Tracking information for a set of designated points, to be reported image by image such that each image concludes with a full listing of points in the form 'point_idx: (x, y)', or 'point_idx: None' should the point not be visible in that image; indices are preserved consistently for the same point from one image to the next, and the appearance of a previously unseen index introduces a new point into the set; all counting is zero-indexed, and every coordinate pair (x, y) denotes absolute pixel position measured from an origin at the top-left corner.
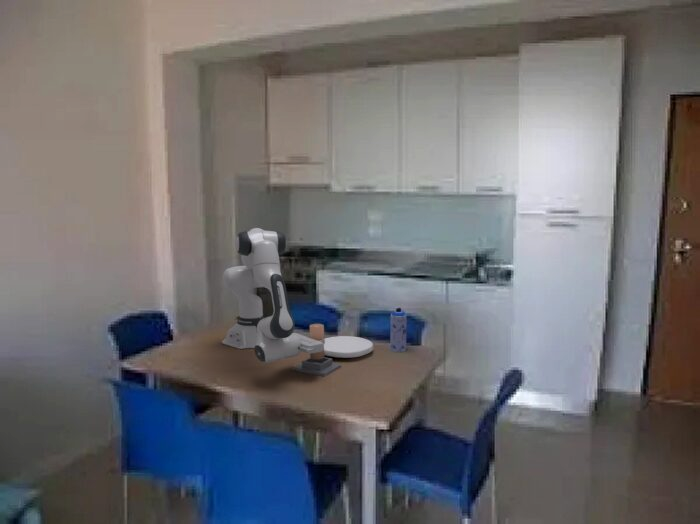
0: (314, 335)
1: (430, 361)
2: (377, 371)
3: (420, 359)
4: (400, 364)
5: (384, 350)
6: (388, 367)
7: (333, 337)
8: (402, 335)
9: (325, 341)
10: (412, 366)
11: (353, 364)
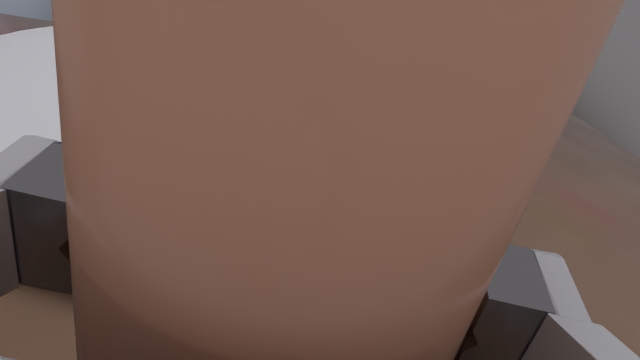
0: (447, 244)
1: (591, 134)
2: (636, 315)
3: None
4: (570, 189)
5: None
6: (588, 238)
7: (34, 42)
8: None
9: (14, 95)
10: (625, 190)
11: None
